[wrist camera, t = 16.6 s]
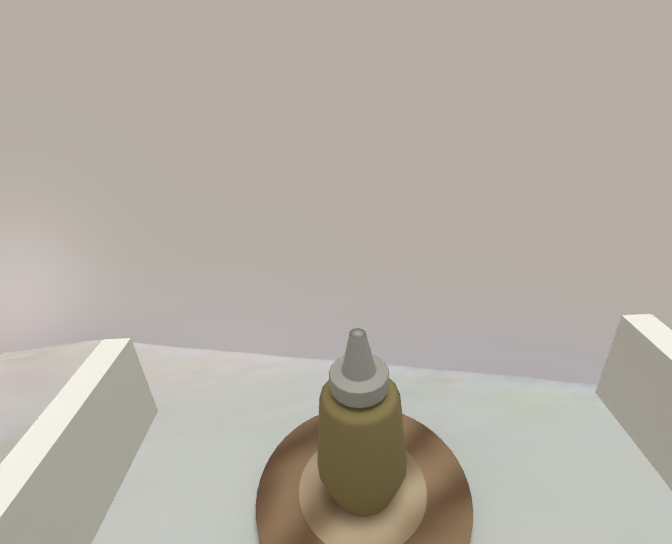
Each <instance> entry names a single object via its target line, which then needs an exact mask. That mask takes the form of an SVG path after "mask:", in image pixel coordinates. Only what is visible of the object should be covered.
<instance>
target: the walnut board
mask: <svg viewBox="0 0 672 544" xmlns="http://www.w3.org/2000/svg"><path fill="white" fill-rule="evenodd" d="M402 418H403V428H404V437H405V447H406V456H407V467H406V477H405V479H404V481H403V482H402V484H401V486H400V488H399V490H398V492H397V493H396V494H395V496H394V497H393V499H392V500H391V502H390V503H389V505H388V506H387V507H386V508H384V509H383V510H382V511H381V512H379V513H378V514H375V515H370V516H366V517H363V516H357V515H352V514H350V513H348V512H347V511H345V510H344V509H342V508H341V507H340V506H339V504H338V503H337V502H336V500H335V499H334V498H333V496H332V495H331V494H330V492H329V491H328V489H327V488H326V487H325V485H324V484H323V482H322V481H321V480H320V476H319V470H318V465H317V456H318V428H319V415H318V416H315V417H313V418H311V419H310V420H308V421H306V422H304V423H303V424H301V425H300V426H298V427H297V428H296V429H294V430H293V431H292V432H291V433H290V434H289V435H288V436H286V437H285V439H284V440H283V441H282V442H281V443H280V444H279V445H278V446H277V448H276V449H275V451H274V452H273V454H272V455H271V457H270V459H269V460H268V462H267V464H266V466H265V468H264V471H263V474H262V476H261V479H260V483H259V487H258V491H257V500H256V520H257V526H258V533H259V537H260V541H261V544H469V542H470V537H471V531H472V526H473V507H472V497H471V493H470V489H469V485H468V482H467V479H466V477H465V474H464V471H463V469H462V468H461V466H460V464H459V462H458V460H457V459H456V457H455V456H454V454H453V453H452V451H451V450H450V449H449V448H448V446H447V445H446V444H445V443H444V442H443V441H442V440H441V439H440V438H439V437H438V436H437V435H436V434H435V433H434V432H433V431H431V430H430V429H428V428H427V427H426V426H424V425H423V424H421V423H419V422H418V421H416V420H414V419H412V418H410V417H408V416H406V415H403V414H402Z"/></svg>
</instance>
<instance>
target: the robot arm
mask: <svg viewBox="0 0 672 544" xmlns="http://www.w3.org/2000/svg"><path fill="white" fill-rule="evenodd" d="M595 393H596V394H597V395H598V396H599V398H600V399H601V400H602V402H603V403H604V404H605V405H606V407H607V408H608V409H609V410H610V412H611V413H612V414H613V416H614V417H615V418H616V419H617V421H618V422H619V423H620V425H621V426H622V427H623V428H624V430H625V431H626V432H627V434H628V435H629V436H630V437H631V439H632V440H633V441H634V443H635V444H636V445H637V446H638V448H639V449H640V450H641V452H642V453H643V454H644V455H645V457H646V458H647V459H648V461H649V462H650V463H651V464H652V466H653V467H654V468H655V469H656V471H657V472H658V473H659V475H660V476H661V477H662V478H663V480H664V481H665V482H666V484H667V485H668V486H669V487H670V489H671V490H672V330H671V329H669V328H668V327H667V326H666V325H664V324H663V323H662V322H660V321H659V320H658V319H657V318H656V317H655V316H653V315H652V314H639V315H622V316H621V319H620V322H619V325H618V328H617V331H616V334H615V337H614V340H613V342H612V345H611V348H610V351H609V354H608V357H607V360H606V363H605V366H604V369H603V372H602V374H601V377H600V380H599V383H598V386H597V389H596V392H595ZM157 411H158V410H157V407H156V405H155V402H154V399H153V397H152V394H151V391H150V389H149V386H148V383H147V381H146V378H145V375H144V373H143V370H142V367H141V365H140V362H139V359H138V357H137V354H136V351H135V349H134V346H133V343H132V340H131V338H127V339H105V340H102V341H101V342H100V344H99V345H98V346H97V347H96V349H95V350H94V351H93V352H92V353H91V355H90V356H89V357H88V358H87V359H86V361H85V362H84V363H83V364H82V366H81V367H80V368H79V369H78V370H77V372H76V373H75V374H74V375H73V376H72V378H71V379H70V380H69V381H68V383H67V384H66V385H65V386H64V387H63V389H62V390H61V391H60V392H59V394H58V395H57V396H56V397H55V398H54V400H53V401H52V402H51V403H50V404H49V406H48V407H47V408H46V409H45V411H44V412H43V413H42V414H41V415H40V417H39V418H38V419H37V420H36V421H35V423H34V424H33V425H32V426H31V428H30V429H29V430H28V431H27V432H26V434H25V435H24V436H23V437H22V438H21V440H20V441H19V442H18V443H17V445H16V446H15V447H14V448H13V449H12V451H11V452H10V453H9V454H8V455H7V457H6V458H5V459H4V460H3V462H2V463H1V464H0V544H91V543H92V541H93V539H94V537H95V535H96V533H97V531H98V529H99V527H100V525H101V523H102V521H103V519H104V517H105V515H106V513H107V511H108V509H109V507H110V505H111V503H112V501H113V499H114V497H115V495H116V493H117V491H118V489H119V487H120V485H121V483H122V481H123V479H124V477H125V475H126V473H127V471H128V469H129V467H130V465H131V463H132V461H133V459H134V457H135V455H136V453H137V451H138V449H139V447H140V445H141V443H142V441H143V439H144V437H145V435H146V433H147V431H148V429H149V427H150V425H151V423H152V421H153V419H154V417H155V415H156V413H157Z"/></svg>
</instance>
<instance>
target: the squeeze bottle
mask: <svg viewBox="0 0 672 544" xmlns="http://www.w3.org/2000/svg"><path fill="white" fill-rule="evenodd" d="M317 465H318V470H319V476H320V480H321V481H322V482H323V484H324V485H325V487H326V488H327V489H328V491H329V492H330V494H331V495H332V496H333V498H334V499H335V500H336V502H337V503H338V504H339V506H340V507H341V508H342V509H344V510H345V511H347V512H348V513H350V514H352V515H357V516H363V517H366V516H370V515H375V514H378V513H379V512H381V511H382V510H383V509H384V508H386V507H387V506H388V505H389V503H390V502H391V500H392V499H393V497H394V496H395V494H396V493H397V492H398V490H399V488H400V486H401V484H402V482H403V481H404V479H405V477H406V467H407V456H406V447H405V437H404V428H403V418H402V409H401V399H400V393H399V391H398V389H397V387H396V385H395V383H394V382H393V381H392V380H390V379H389V370H388V368H387V366H386V363H385V362H383V361H382V360H381V359H380V358H379V357H377V356H374V355H372V353H371V350H370V346H369V343H368V339H367V336H366V333H365V331H364V330H363V329H360V328H356V329H353V330H351V331H350V334H349V339H348V343H347V348H346V352H345V355H344V356H342V357H340V358H338V359H337V360H336V361H335V362H334V363H333V364H332V365H331V368H330V372H329V380H328V382H327V383H326V384H325V385H324V386H323V388H322V391H321V395H320V400H319V428H318V456H317Z"/></svg>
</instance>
